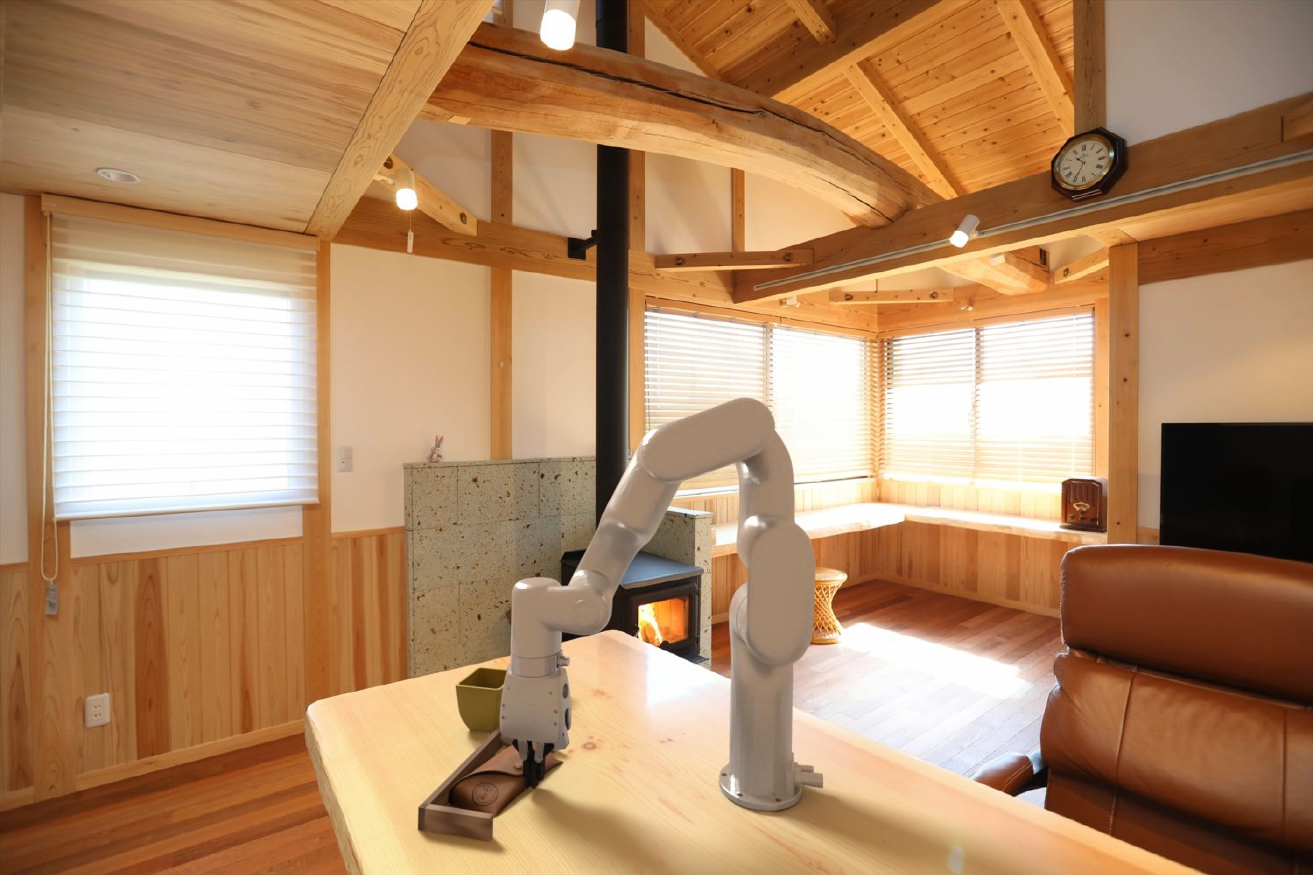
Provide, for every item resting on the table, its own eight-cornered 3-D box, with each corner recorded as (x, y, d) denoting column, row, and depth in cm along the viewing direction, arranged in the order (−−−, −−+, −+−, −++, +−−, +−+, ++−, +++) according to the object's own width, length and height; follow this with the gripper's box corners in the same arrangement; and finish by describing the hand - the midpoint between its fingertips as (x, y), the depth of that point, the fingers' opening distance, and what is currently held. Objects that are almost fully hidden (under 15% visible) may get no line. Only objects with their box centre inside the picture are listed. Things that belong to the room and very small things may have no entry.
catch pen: (556, 749, 102) (556, 732, 102) (489, 841, 78) (489, 818, 78) (499, 742, 104) (500, 725, 104) (417, 829, 80) (418, 807, 80)
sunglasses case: (493, 822, 82) (475, 774, 84) (459, 835, 85) (442, 788, 86) (566, 760, 98) (550, 721, 100) (536, 772, 101) (520, 734, 103)
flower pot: (498, 740, 105) (499, 689, 105) (453, 734, 106) (454, 684, 106) (519, 717, 113) (520, 670, 113) (477, 712, 115) (478, 666, 115)
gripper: (590, 657, 92) (588, 776, 92) (501, 649, 95) (499, 763, 95) (574, 676, 85) (572, 805, 85) (478, 666, 88) (476, 790, 88)
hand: (533, 782), depth 90 cm, fingers closed
